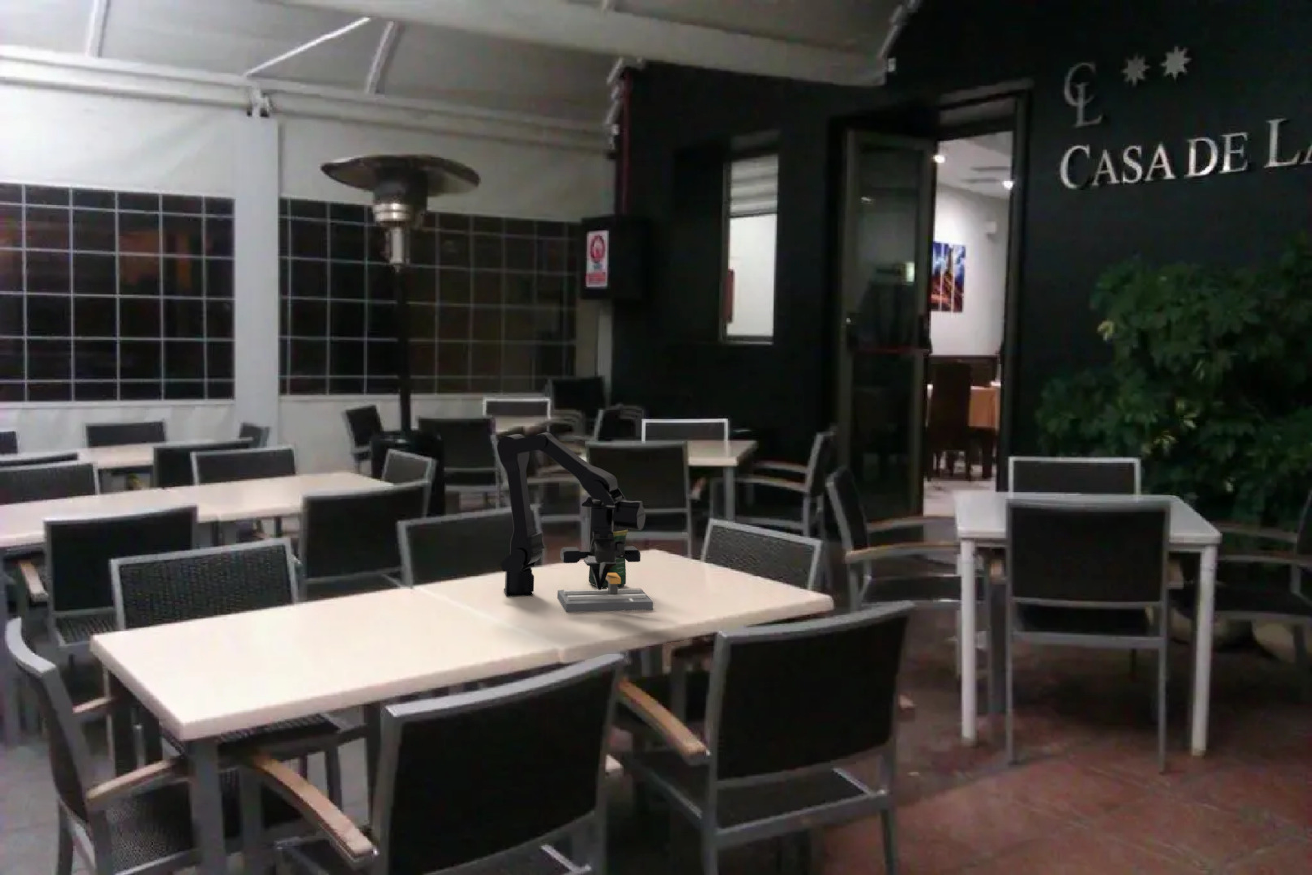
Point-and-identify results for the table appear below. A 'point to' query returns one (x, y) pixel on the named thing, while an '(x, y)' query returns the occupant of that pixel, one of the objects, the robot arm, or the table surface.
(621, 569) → the coffee jar
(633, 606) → the console
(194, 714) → the table surface
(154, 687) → the table surface
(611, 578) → the fader
